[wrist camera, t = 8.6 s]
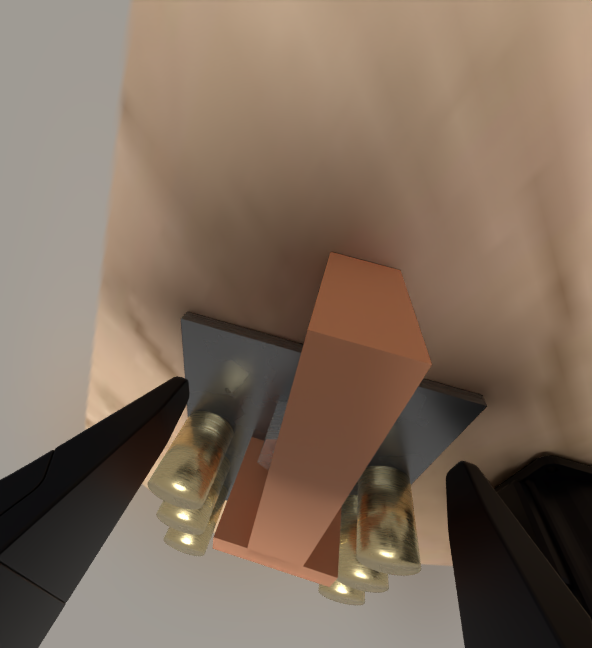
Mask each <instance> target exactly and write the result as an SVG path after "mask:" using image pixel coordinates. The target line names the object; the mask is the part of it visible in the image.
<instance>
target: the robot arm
mask: <svg viewBox="0 0 592 648" xmlns="http://www.w3.org/2000/svg"><path fill="white" fill-rule="evenodd" d="M189 396H190V393H189V381H188V380H187V379H185V378H182V377H178V376H177V377H173V378H172V379H170V380H168V381H167V382H165V383H163V384H162V385H160V386H158V387H157V388H155V389H153V390H152V391H150V392H148V393H147V394H145V395H143V396H142V397H140V398H138V399H137V400H135V401H133V402H132V403H130V404H128V405H127V406H125V407H123V408H122V409H120V410H118V411H117V412H115V413H113V414H112V415H110V416H108V417H107V418H105V419H103V420H102V421H100V422H98V423H97V424H95V425H93V426H92V427H90V428H88V429H87V430H85V431H83V432H82V433H80V434H78V435H77V436H75V437H73V438H72V439H70V440H68V441H67V442H65V443H63V444H62V445H60V446H58V447H57V448H56V449H55V450H52V451H50V452H48V453H46V454H45V455H43V456H41V457H40V458H38V459H37V460H35V461H33V462H32V463H29V464H28V465H26V466H24V467H22V468H21V469H19V470H17V471H15V472H14V473H12V474H10V475H8V476H7V477H5V478H3V479H1V480H0V648H38V647H39V646H40V644H41V642H42V641H43V639H44V638H45V636H46V635H47V633H48V631H49V630H50V628H51V626H52V625H53V623H54V622H55V620H56V619H57V617H58V616H59V614H60V612H61V611H62V609H63V607H64V606H65V603H66V602H67V601H68V599H69V598H70V596H71V594H72V593H73V591H74V590H75V588H76V587H77V585H78V584H79V582H80V581H81V579H82V577H83V576H84V574H85V572H86V571H87V569H88V568H89V566H90V565H91V563H92V562H93V560H94V558H95V557H96V555H97V554H98V552H99V551H100V549H101V547H102V546H103V544H104V543H105V541H106V539H107V538H108V536H109V535H110V533H111V532H112V530H113V528H114V527H115V525H116V524H117V522H118V521H119V519H120V517H121V516H122V514H123V513H124V511H125V509H126V508H127V506H128V505H129V503H130V501H131V500H132V498H133V497H134V495H135V493H136V492H137V490H138V489H139V487H140V486H141V484H142V483H143V481H144V479H145V478H146V476H147V475H148V473H149V472H150V470H151V468H152V467H153V465H154V464H155V462H156V460H157V459H158V457H159V456H160V454H161V453H162V451H163V449H164V448H165V446H166V444H167V442H168V441H169V439H170V437H171V435H172V433H173V431H174V429H175V427H176V425H177V422H178V420H179V418H180V416H181V414H182V412H183V410H184V408H185V406H186V404H187V402H188V400H189ZM446 494H447V517H448V532H449V541H450V548H451V555H452V562H453V568H454V575H455V582H456V589H457V596H458V602H459V610H460V617H461V624H462V631H463V638H464V645H465V648H592V467H590V466H587V465H583V464H580V463H576V462H573V461H570V460H566V459H563V458H559V457H556V456H542V457H540V458H538V459H536V460H535V461H533V462H532V463H531V464H529V465H528V466H526V467H525V468H524V469H522V470H521V471H519V472H518V473H517V474H515V475H514V476H512V477H511V478H510V479H508V480H507V481H505V482H504V483H502V484H501V485H500V486H498V487H497V488H495V489H494V488H493V487H492V486H491V484H490V483H489V482H488V480H487V479H486V478H485V476H484V475H483V474H482V472H481V471H480V470H479V468H478V467H477V466H476V465H474V464H472V463H468V462H465V461H460V462H458V463H457V464H456V465H455V466H454V467H453V468H452V469H451V470H450V471H449V472H448V473H447V476H446Z"/></svg>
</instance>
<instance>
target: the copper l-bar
mask: <svg viewBox="0 0 592 648" xmlns="http://www.w3.org/2000/svg"><path fill="white" fill-rule="evenodd" d="M431 366H432V363H431V360H430V357H429V354H428V351H427V348H426V345H425V342H424V339H423V336H422V333H421V330H420V327H419V324H418V321H417V318H416V315H415V312H414V309H413V306H412V303H411V300H410V297H409V294H408V292H407V289H406V286H405V283H404V280H403V277H402V274H401V271H400V270H397V269H394V268H390V267H386V266H382V265H379V264H375V263H371V262H367V261H363V260H360V259H356V258H352V257H348V256H345V255H341V254H337V253H333V252H330V255H329V258H328V262H327V265H326V269H325V272H324V276H323V279H322V282H321V286H320V289H319V293H318V296H317V299H316V303H315V306H314V310H313V313H312V317H311V320H310V323H309V327H308V330H307V334H306V337H305V341H304V345H303V348H302V352H301V356H300V359H299V363H298V366H297V370H296V374H295V377H294V381H293V385H292V388H291V392H290V395H289V399H288V403H287V406H286V410H285V414H284V417H283V421H282V424H281V428H280V432H279V435H278V439H277V443H276V446H275V450H274V453H273V457H272V461H271V464H270V468H269V471H268V470H267V469H266V468H264V467H263V466H261V465H260V464H259V463H257V462H258V459H259V456H260V453H261V450H262V446H263V443H264V440H260V439H257V438H254V437H251V440H250V443H249V445H248V448H247V450H246V453H245V456H244V458H243V461H242V464H241V466H240V469H239V472H238V474H237V477H236V480H235V482H234V485H233V487H232V490H231V493H230V495H229V498H228V501H227V503H226V506H225V509H224V511H223V514H222V517H221V519H220V522H219V524H218V527H217V530H216V532H215V535H214V539H213V549H216V550H219V551H222V552H225V553H228V554H231V555H234V556H237V557H240V558H243V559H246V560H249V561H253V562H255V563H258V564H261V565H264V566H267V567H270V568H273V569H276V570H279V571H282V572H285V573H289V574H291V575H294V576H297V577H300V578H304V579H306V580H309V581H313V582H316V583H318V584H322V585H325V586H328V587H330V586H331V585H332V584H333V583H334V582H335V580H336V579H337V578H338V565H339V545H340V526H341V507H342V505H343V503H344V502H345V500H346V498H347V497H348V495H349V494H350V492H351V491H352V489H353V487H354V486H355V484H356V483H357V481H358V480H359V478H360V477H361V475H362V473H363V472H364V470H365V469H366V467H367V466H368V464H369V462H370V461H371V459H372V458H373V456H374V455H375V453H376V452H377V450H378V448H379V447H380V445H381V444H382V442H383V441H384V439H385V437H386V436H387V434H388V433H389V431H390V430H391V428H392V427H393V425H394V423H395V422H396V420H397V419H398V417H399V416H400V414H401V412H402V411H403V409H404V408H405V406H406V405H407V403H408V402H409V400H410V398H411V397H412V395H413V394H414V392H415V391H416V389H417V387H418V386H419V384H420V383H421V381H422V380H423V378H424V377H425V375H426V373H427V372H428V370H429V369H430V367H431Z"/></svg>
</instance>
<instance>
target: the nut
mask: <svg viewBox="0 0 592 648" xmlns="http://www.w3.org/2000/svg"><path fill="white" fill-rule="evenodd" d="M287 403H288V402H278V403H277V406H276V409H275V412H274V414H273V417H272V420H271V422H270V425H269V428H268V431H267V434H266V437H265V440H264V443H263V446H262V450H261V453H260V456H259V459H258V462H257V463H259V464H260V465H261V466H263V467H264V468H266V469H267V470H268V471H269V468H270V464H271V461H272V457H273V453H274V450H275V446H276V443H277V439H278V435H279V432H280V428H281V424H282V421H283V417H284V414H285V410H286V406H287Z"/></svg>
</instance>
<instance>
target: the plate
mask: <svg viewBox="0 0 592 648" xmlns="http://www.w3.org/2000/svg"><path fill="white" fill-rule="evenodd" d="M181 329H182V342H183V356H184V370H185V379H187V380H188V381H189V393H190V396H189V400H188V402H187V411H188V419H187V420H186V422H185V423H184V425H183V427H182V428H181V430H180V432H179V433H178V435H177V436H176V438H175V440H174V441H173V443H172V444H171V446H170V448H169V449H168V451H167V453H166V454H165V456H164V457H163V459H162V461H161V462H160V464H159V465H158V467H157V469H156V470H155V472H154V474H153V475H152V477H151V478H150V480H149V482H148V487H149V489H150V490H151V491H152V492H153V493H154V494H155V495H156V496H157V497H159V498H160V499H162V500H164V501H163V503H162V504H161V506H160V508H159V510H158V512H157V514H156V515H157V517H158V519H159V520H160V521H161V522H163V523H164V524H166V525H167V526H169V529H168V531H167V533H166V535H165V537H164V542H165V543H166V544H167V545H169V546H171V547H172V548H174V549H176V550H178V551H180V552H183V553H186V554H189V555H194V556H203V555H204V554H205V552H206V549H207V546H208V544H209V541H210V539H211V536H212V533H213V531H214V528H215V525H216V523H217V520H218V518H219V515H220V512H221V510H222V507H223V504H224V502H225V500H228V498H229V495H230V493H231V490H232V487H233V485H234V482H235V480H236V477H237V474H238V472H239V469H240V466H241V464H242V461H243V458H244V456H245V453H246V450H247V448H248V445H249V443H250V440H251V437H254V438H257V439H260V440H265V437H266V434H267V431H268V428H269V425H270V422H271V420H272V417H273V414H274V412H275V409H276V406H277V403H278V402H288V399H289V395H290V392H291V388H292V385H293V381H294V377H295V374H296V370H297V366H298V363H299V359H300V356H301V352H302V348H303V344H300V343H296V342H293V341H289V340H286V339H282V338H279V337H275V336H272V335H268V334H264V333H261V332H257V331H254V330H250V329H247V328H243V327H240V326H236V325H233V324H229V323H226V322H222V321H219V320H215V319H212V318H208V317H205V316H201V315H198V314H194V313H191V312H187V313H186V314H185V315H184V316H183V317H182V318H181ZM486 407H487V404H486V402H485V400H484V398H483V395H479V394H476V393H472V392H469V391H465V390H462V389H458V388H455V387H451V386H448V385H444V384H441V383H437V382H433V381H430V380H426V379H423V380H422V381H421V383H420V384H419V386H418V387H417V389H416V391H415V392H414V394H413V395H412V397H411V398H410V400H409V402H408V403H407V405H406V406H405V408H404V409H403V411H402V412H401V414H400V416H399V417H398V419H397V420H396V422H395V423H394V425H393V427H392V428H391V430H390V431H389V433H388V434H387V436H386V437H385V439H384V441H383V442H382V444H381V445H380V447H379V448H378V450H377V452H376V453H375V455H374V456H373V458H372V459H371V461H370V462H369V464H368V466H367V467H366V469H365V470H364V472H363V473H362V475H361V477H360V478H359V480H358V481H357V483H356V484H355V486H354V487H353V489H352V491H351V492H350V494H349V495H348V497H347V498H346V500H345V502H344V503H343V505H342V507H341V526H340V545H339V565H338V578H337V579H336V580H335V582H334V583H333V584H332V585H331V586H330V587H328V586H325V585H322V584H319V593H320V594H321V595H323V596H324V597H326V598H328V599H330V600H333V601H336V602H339V603H343V604H348V605H363V604H364V603H365V591H366V592H374V593H377V592H378V593H380V592H385V591H387V590H388V589H389V585H388V574H391V575H400V576H405V575H406V576H407V575H414V574H417V573H419V572H420V571H421V563H420V555H419V547H418V539H417V531H416V523H415V516H414V508H413V500H412V492H411V484H412V483H413V482H414V481H415V480H416V479H417V478H418V477H419V476H420V475H421V474H422V473H423V472H424V471H425V470H426V469H427V468H428V467H429V466H430V464H431V463H432V462H433V461H434V460H435V459H436V458H437V457H438V456H439V455H440V454H441V453H442V452H443V451H444V450H445V449H446V448H447V447H448V446H449V445H450V444H451V443H452V442H453V441H454V440H455V439H456V438H457V437H458V436H459V435H460V434H461V433H462V432H463V431H464V430H465V429H466V427H467V426H468V425H469V424H470V423H471V422H472V421H473V420H474V419H475V418H476V417H477V416H478V415H479V414H480V413H481V412H482V411H483V410H484V409H485V408H486Z"/></svg>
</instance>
